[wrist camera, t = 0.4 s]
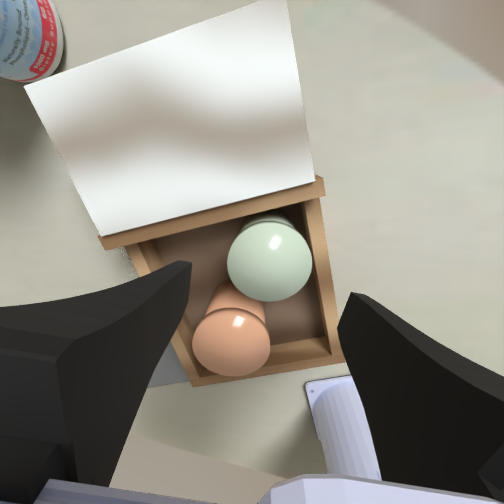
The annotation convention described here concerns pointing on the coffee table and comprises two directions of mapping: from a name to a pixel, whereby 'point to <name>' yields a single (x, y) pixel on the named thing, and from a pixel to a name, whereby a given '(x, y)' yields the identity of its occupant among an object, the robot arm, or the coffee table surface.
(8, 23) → the pill bottle
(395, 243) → the coffee table surface
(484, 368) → the robot arm
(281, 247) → the mint green knob
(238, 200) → the cold frame
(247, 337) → the peach rounded knob
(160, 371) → the slate tile
